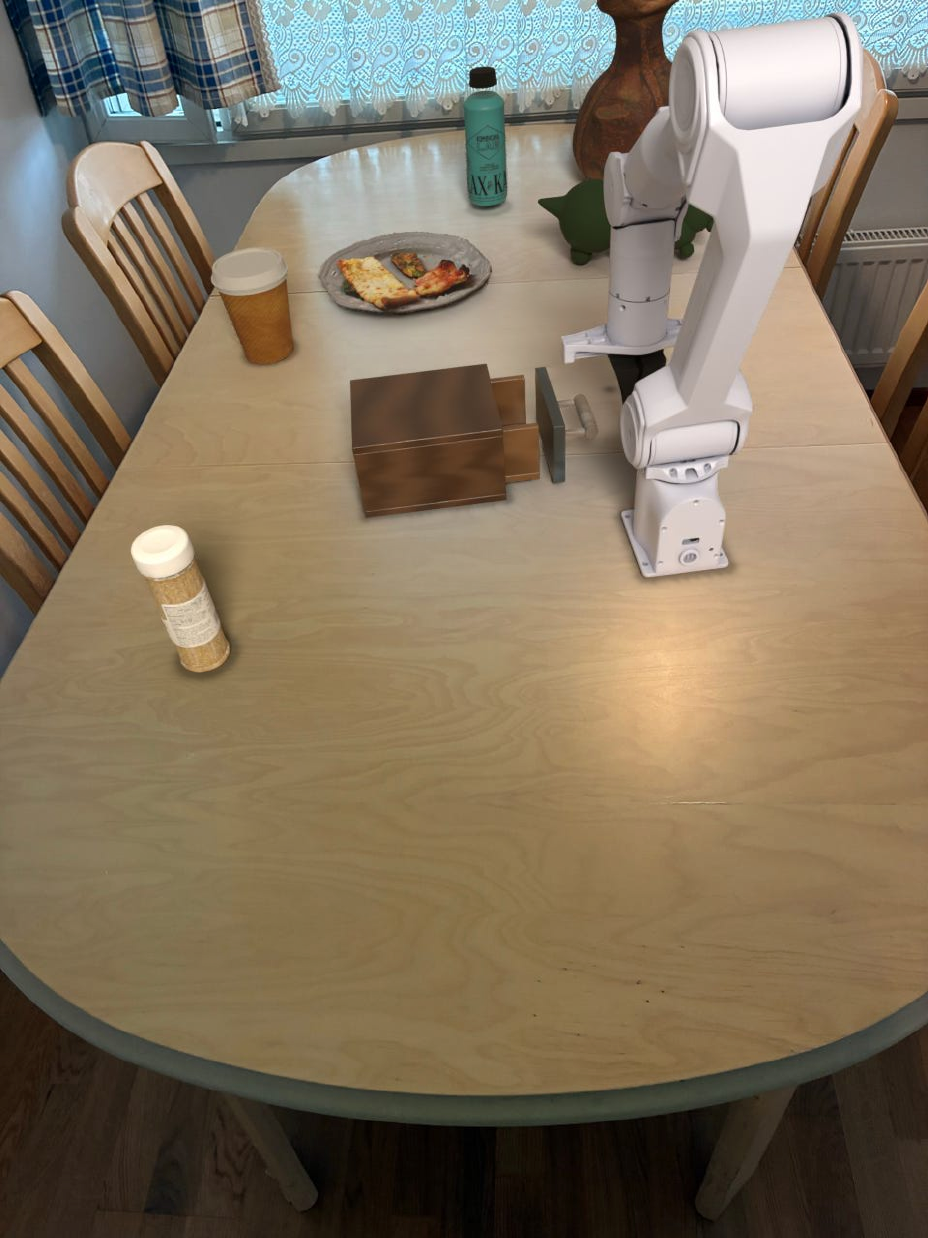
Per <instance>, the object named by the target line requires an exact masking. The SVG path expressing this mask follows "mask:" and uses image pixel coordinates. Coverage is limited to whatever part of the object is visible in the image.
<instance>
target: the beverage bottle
mask: <svg viewBox="0 0 928 1238" xmlns="http://www.w3.org/2000/svg"><path fill="white" fill-rule="evenodd" d="M496 71H497V70H496V68H495V67H492V66H477V67H473V68H472V69H470V70H469V78H468V87H470V88H471V89H476V90H480V91H475V92H472V93H470V94H469V96H467V98H466V99H465V100H464V102H463V106H462V107H463V108H462V109H463V113H464V114H463V117H464V135H465V136H464V137H465V144H464V146H465V157H464V158H465V162H466V163H465V166H466V169H465V171H466V184H467V185H466V187H467V188H466V189H467V193H468V199H469V202H470V203H471V204H472V205H475V206H479V207H489V206H496V205H499V204H501V203H504V202H505V201H506V200H507V198H508V197H507V196H508V191H509V190H508V189H509V185H508V183H509V181H508V178H509V177H508V170H507V161H508V160H507V159H508V158H507V157H508V154H507V150H508V149H507V147H506V146H507V144H506V143H507V142H506V141H507V140H506V139H507V135H506V123H505V119H506V118H505V100H504V99H503V97H502V96H501V95H500V94H499V93H497V92H496V91H494V90H482V89H490V88H494V87H495V86H497V85H498V79H497V72H496Z"/></svg>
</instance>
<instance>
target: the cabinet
mask: <svg viewBox="0 0 928 1238" xmlns="http://www.w3.org/2000/svg"><path fill="white" fill-rule="evenodd" d="M491 379H492V378H491V375H490V371H489V367H488V363H479V364H471V365H463V366H455V367H447V368H438V369H430V370H424V371H414V372H406V373H398V374H389V375H382V376H375V377H366V378H359V379H358V378H357V379H351V380H349V395H350V398H349V399H350V432H351V433H350V435H351V437H350V438H351V450H352V451H351V452H352V456H353V462H354V466H355V472H356V476H357V482H358V488H359V491H360V497H361V502H362V507H363V512H364V516H365V518H366V519H367V518H374V517H383V516H390V515H399V514H407V513H415V512H422V511H423V512H424V511H430V510H438V509H445V508H452V507H454V508H455V507H461V506H462V507H463V506H469V505H477V504H486V503H493V502H494V503H495V502H500V501H507V500H508V499H507V483H506V479H505V461H504V443H503V428H502V424H501V420H500V416H499V412H498V408H497V404H496V399H495V395H494V391H493V387H492V383H491Z"/></svg>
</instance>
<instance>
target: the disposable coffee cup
mask: <svg viewBox="0 0 928 1238" xmlns="http://www.w3.org/2000/svg"><path fill="white" fill-rule="evenodd" d="M288 272H289V265H288V262H286V261H285V260H284V257H283V256H282V254H281V253H280V252H279V251H278V250H275V249H273V248H268V247H259V246H258V247H257V246H256V247H246V248H241V249H238V250H237V249H236V250H235V251H231V252H228V253H226V254H223V255H222V256H220V257H219V258H217V259H216V260H215V261H214V263H213V264H212V266H211V276H210V282H211V284H212V285H213V286H214V287H215V289H216V290H217V291H218V293H219V296H220V298H221V301H222V304H223V305H224V307H225V310H226V313H227V315H228V318H229V320H230V322H231V324H232V326H233V327H232V328H233V330H234V332H235V334H236V336H237V338H238V341H239V343H240V345H241V348H242V351H243V353H244V355H245V358H246V359H247V360H248V361H249V362H251V363H253V364H259V365H266V364H268V365H269V364H274V363H277V362H280V361H282V360H284V359H286V358H288V357H289V356H290V355H291V354H292V353H293V352H294V342H293V331H292V320H291V310H290V301H289V291H288V281H287V276H288Z"/></svg>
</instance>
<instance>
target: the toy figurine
mask: <svg viewBox="0 0 928 1238" xmlns="http://www.w3.org/2000/svg"><path fill="white" fill-rule="evenodd" d="M537 204H538V205H539V206H540V207H542V208H543V209H544V210H545V211H547V212H549V213H550V214H551V215H553V216H554V217H555V218H557V220H558V224H559V225H558V226H559V229H560V231H561V232H560V233H561V234H562V237H563V238H564V240H565V241H566V242H567V244H568V245H569V246H570V257H571V260H572V261H573V262H574V264H575V265H576V264H577V265H581V266H582V265H586V264H587V263H588V262H590V261H591V260H592V258H593V254H598V253H603V252H605V251H607V250H610V239H611V225H610V223H609V221H608V218H607V214H606V209H605V202H604V180H601V179H585V180H582V181H581V182H578V183H577V184H575V185H573V187H571V188H570V189H569V190H568V191H567V193H566V194H564V195H560V196H551V197H544V198H539V199H538V200H537ZM713 223H714V219H713V217H712V216H710V215H709V214H707V213H705V212H703V211H701V210H699V209H698V208H696V207H694V206H692V205H690V204H689V205H688V209H687V212H686V215H685V217H684V219H683V222H682V229H681V236H680V238H679V240H677V241H675V243H674V251H679V255H680V256H681V257H683V258H684V259H688V258H691V257H692V256H693V254H694V253H695V245H694V243H692V242H693V241H694V240H695V238H696V236H697V234H698V233H701V232H703V231H704V230H706V231H707V233H711V230H712V227H713Z"/></svg>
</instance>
